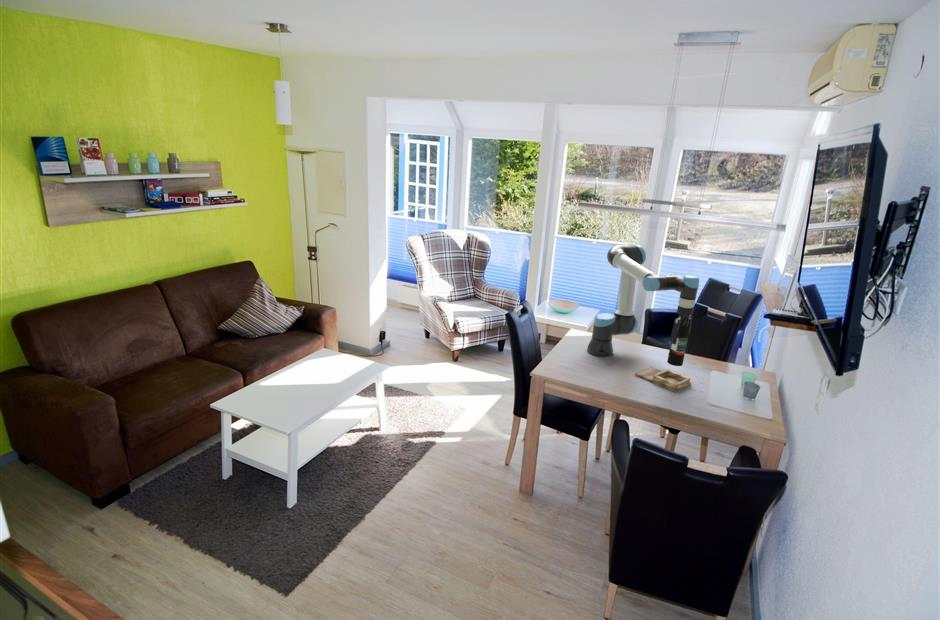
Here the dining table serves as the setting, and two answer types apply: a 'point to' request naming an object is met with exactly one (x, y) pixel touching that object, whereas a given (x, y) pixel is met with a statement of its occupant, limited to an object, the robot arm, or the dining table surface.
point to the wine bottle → (679, 347)
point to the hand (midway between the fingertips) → (677, 348)
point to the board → (664, 378)
